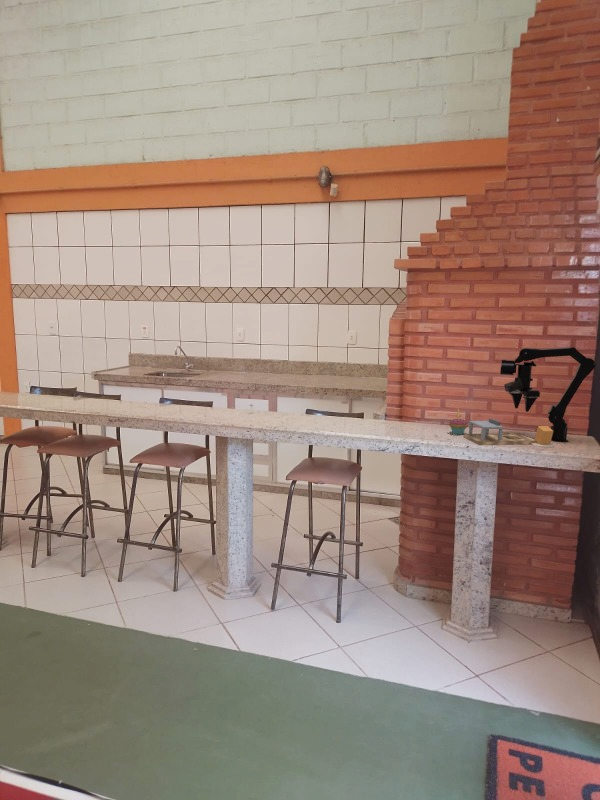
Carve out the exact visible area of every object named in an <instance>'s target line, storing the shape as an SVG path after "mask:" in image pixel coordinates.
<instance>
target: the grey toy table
mask: <svg viewBox="0 0 600 800" xmlns="http://www.w3.org/2000/svg"><path fill="white" fill-rule="evenodd" d="M474 426H476V427H478V428H481V433H480V434H481V440H482V441H485V434H486V435H489V434H490V430H492V429H493V430H498V433H497V434H498V440H502V433H503V431H504V426H502V425H501V421H498V420H496V419H493V418H488V420H469V421H468V434H469V435H472V434H473V428H474Z"/></svg>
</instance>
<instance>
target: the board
mask: <svg viewBox="0 0 600 800" xmlns="http://www.w3.org/2000/svg"><path fill="white" fill-rule="evenodd" d="M521 433H522V432H521ZM521 433H515V432H514V433H509V432H508V433H503V432H502V440H498V434H499V433H489V435H486V434H485V441H482V440H481V433H472V435H469V433H463V434H462V435H463V436H462V437H463V438H465V439H466V440H468V441H470V442H472V443H474V444H476V445H478V446H523V445H525V446H528V445H529V446H532V445H531V443H538V442H537V441H536V440H535V438H534V439H533V438H531V437H528V436H526V435H523V434H521Z"/></svg>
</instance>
